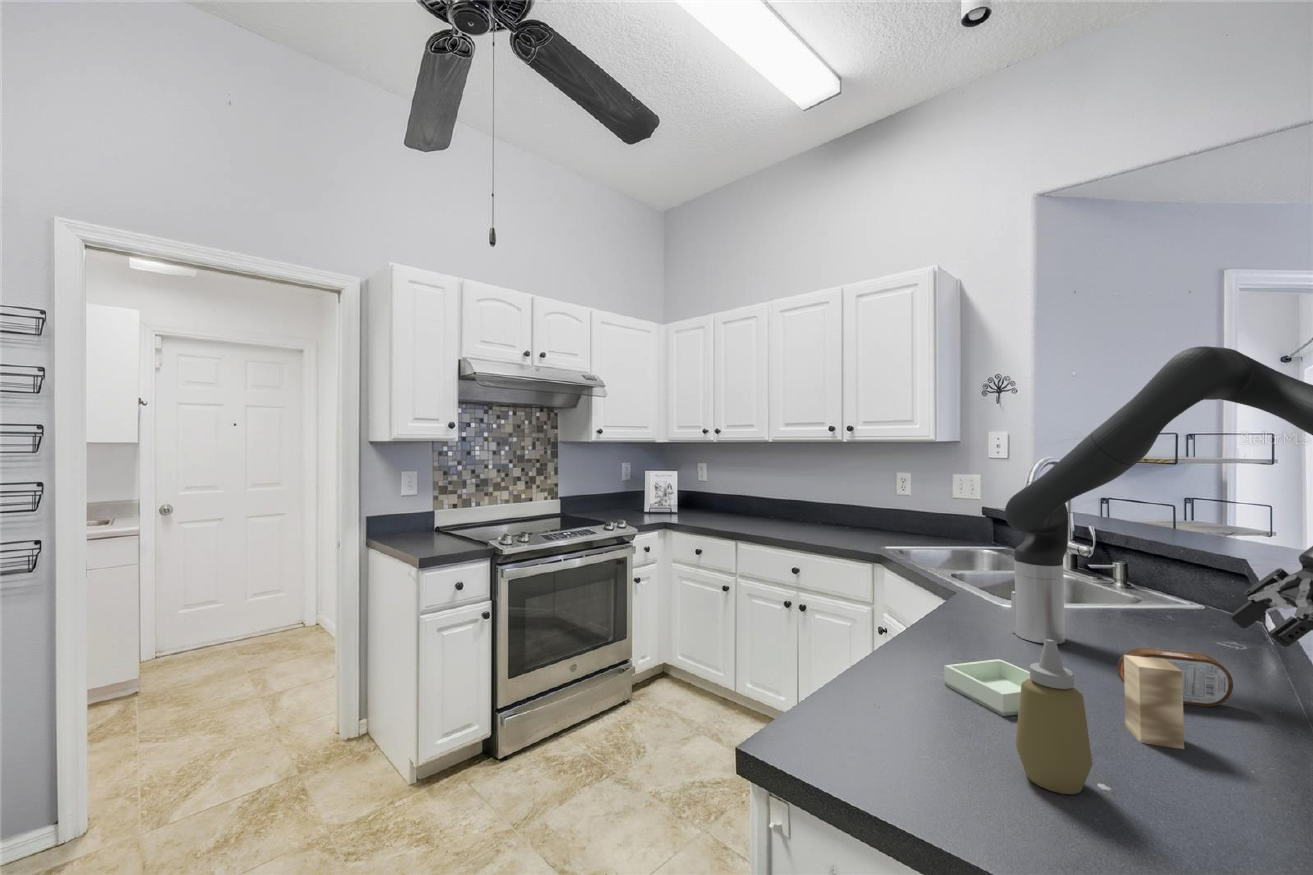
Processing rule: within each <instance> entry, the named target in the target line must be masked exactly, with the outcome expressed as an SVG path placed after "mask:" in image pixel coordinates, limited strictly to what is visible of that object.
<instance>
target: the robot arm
mask: <svg viewBox="0 0 1313 875" xmlns="http://www.w3.org/2000/svg"><path fill="white" fill-rule="evenodd" d="M1203 400H1207V401H1211V400H1212V401H1215V400H1216V401H1217V400H1222V401H1226V402H1232V403H1235V404H1240V405H1243V406H1247V407H1251V408H1255V409H1258V410H1261V411H1264V412H1266V413H1269V414H1271V415H1273V416H1276V417H1278V418H1279V419H1282V420H1284V421H1285V422H1288V423H1289V424H1290V425H1293V426H1295V427H1297V428H1298V429H1299V430H1302V431H1303V432H1305V433H1307V434H1309V435H1311V436H1313V384H1310V383H1308V382H1304V381H1302V380H1300V379H1297V378H1294V377H1292V376H1290V375H1287V374H1284V373H1283V372H1281V371H1278V370H1276V369H1274V368H1271V367H1269V366H1268V365H1266V364H1264V363H1261V362H1259V361H1257V360H1256V359H1254V358H1251V357H1249V356H1248V355H1247V354H1244V353H1241V352H1240V351H1238V350H1235V349H1232V348H1229V347H1217V346H1216V347H1215V346H1208V345H1207V346H1195V347H1190V348H1186V349H1185V350H1182V351H1181V352H1179V353H1177V354H1176V355H1174V356H1173V357H1172V358H1171V359H1169V360H1168V361H1167V362H1166V363H1165V364H1164V365H1163V366H1162V367H1161V368H1160V370H1158V372H1157V373H1156V374H1155V375H1154V376H1153V377H1152V378H1151V379H1150V380H1149V381H1148V382H1147V383H1146V385H1145V386H1144V387H1143V388H1142V389H1141V390H1140V391H1139V392H1138V393H1137V394H1135V395H1134V397H1133V398H1132V399H1130V400H1129V401H1128V402H1126V404H1124V405H1123V406H1122V407H1120V408H1119V409H1118V410H1117V411H1115V413H1113V414H1112V415H1111V416H1110V417H1108V419H1107V420H1105V421H1104V422H1103V423H1102V424H1100V425H1099V426H1097V428H1095V429H1094V430H1093V431H1092V432H1090V433H1089V434H1088V435H1087V436H1086V437H1084V438H1083V439H1082V440H1081V441H1080V442H1079V443H1078V444H1077V445H1076V446H1075V447H1074V448H1073V449H1072V450H1071V451H1070V452H1068V453H1067V454H1066V455H1065V456H1063V457H1062V458H1061V459H1059V461H1058V462H1056V463H1055V464H1054V465H1053V466H1052V467H1051V468H1050V469H1049V470H1048V471H1047V472H1045V473H1044V474H1043V475H1041V476H1040V477H1039V478H1037V479H1035V480H1034V481H1033V482H1032V483H1030V484H1028V485H1027V486H1026V487H1025V486H1024V488H1022V489H1021V490H1019V491H1017V493H1015V494H1014V495H1012V497H1010V499H1009V500H1008V501H1007V503H1006V505H1005V508H1004V517H1005V522H1006V523H1007V524H1008V526H1010V527H1011V528H1012V529H1014V530H1015V531H1018V532H1022V533H1026V536H1025V537H1026V538H1025V539H1024V541H1023V542H1022V543H1020V544H1019V545H1018V546H1016V547H1015V549H1014V554H1013V556H1014V557H1013V558H1014V559H1013V562H1014V563H1013V564H1014V590H1012V591H1011V592H1010V603H1011V610H1010V611H1011V633H1013V634H1015V635H1016V636H1017V637H1019V638H1020V639H1022V640H1027V641H1029V642H1034V643H1038V644H1044V642H1045V640H1046V639H1050V640H1054V641H1056V643H1057V645H1062V644H1063V643H1065V642H1066V641H1065V638H1066V636H1065V635H1066V634H1065V584H1064V582H1065V581H1064V579H1065V578H1064V557H1065V555H1066V554H1067V550H1068V543H1069V511H1068V507H1067V505H1066V503H1068V502H1069V501H1071V500H1072V499H1075V498H1076V497H1078V496H1081V495H1083V494H1086V493H1089V492H1090V491H1093V490H1095V489H1097V488H1099V487H1101V486H1104V485H1106V484H1108V483H1109V482H1112V481H1113V480H1115V479H1117V478H1118V477H1120V476H1122V475H1123V474H1124V473H1126V472H1127V471H1128V470H1130V469H1131V468H1133V467H1134V466H1135V465H1136V464H1138V463H1139V462H1140V461H1142V459H1143V458H1145V456H1146V455H1148V453H1149V452H1150V450H1151V449H1152V447H1153V445H1154V444H1155V443H1156V440H1157V439H1158V437H1159V435H1160V434H1161V432H1162V431H1163V430H1164V429H1165V427H1167V425H1168V424H1169V423H1170V422H1172V421H1173V420H1174V419H1176V418H1177V417H1178V416H1180V415H1182V413H1184V412H1185V411H1187V410H1188V409H1190V408H1192V407H1194V405H1196V404H1199V402H1201V401H1203ZM1298 561H1299V563H1300V564H1301V567H1302V568H1301V570H1298V571H1296V572H1294V573H1292V574H1290V573H1288V572H1287V571H1286V570H1284V569H1283V568H1282V567H1281V568H1277V569H1274V570H1273V571H1272V572H1271V573H1269V574H1268V575H1267V576H1265V577H1264V578H1261V579H1260V580H1258V582H1256V583H1255V584H1253V585H1252V586H1250V587H1249V588H1248V589H1246V590H1245V591H1244V592H1243V594H1244V595H1245V596H1247V600H1248V601H1247V602H1246V603H1244V604H1243V605H1241V606H1240V607H1239V608H1238V609H1236V610H1235V611H1234V612H1231V614H1229V615H1228V617H1229V618H1228V619H1230V620H1231V622H1233V623H1234V624H1236V626H1238V627H1239V628H1242V629H1247V628H1248V627H1250V626H1252V625H1253V624H1255V623H1256V622H1257V621H1259V620H1260V619H1261V618H1263V617H1264V616H1265V615H1267V613H1271V612H1273V611H1276V610H1278V609H1279V610H1280V609H1283V610H1290V609H1294V608H1296V610H1295V613H1294V614H1293V616H1289V617H1288V618H1287V619H1285V620H1284V621H1282V622H1281V623H1279V624H1278V625H1277V626H1275V627H1273V629H1271V630H1269V631H1268V633H1267V634H1268V637H1269V638H1271V639H1272V640H1273V641H1274V642H1275V643H1277V644H1278V645H1280V646H1282V647H1285V648H1286V647H1288V648H1289V647H1290V646H1291V645H1293V644H1294V643H1295V642H1297V641H1298V640H1300V639H1301V638H1303V637H1304V636H1306V635H1307V634H1308V633H1310V632H1311V631H1313V545H1311V546H1310V547H1309V548H1307V549H1306V550H1305V551H1303V553H1301V554H1299V556H1298Z"/></svg>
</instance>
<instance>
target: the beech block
mask: <svg viewBox="0 0 1313 875" xmlns="http://www.w3.org/2000/svg"><path fill="white" fill-rule="evenodd" d="M1123 655H1124V654H1123ZM1123 684H1124V719H1125V720H1124V721H1125V724H1124V726H1125V728H1126V729H1127V730H1128V731H1129V732H1130V733H1131V734H1132V735H1133V737H1134V738H1136V740H1138V742H1139V743H1141V744H1149V745H1155V746H1161V747H1168V748H1173V749H1181V750H1185V730H1184V729H1185V728H1184V727H1185V726H1184V724H1185V723H1184V720H1185V719H1184V704H1183V678H1182V671H1181V670H1179V669H1178V668H1177V667H1175V666H1174V665H1172V664H1171V663H1169V662H1168V661H1166V660H1165V659H1158V658H1148V657H1139V656H1129V655H1124V683H1123Z"/></svg>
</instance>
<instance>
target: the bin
mask: <svg viewBox="0 0 1313 875" xmlns="http://www.w3.org/2000/svg"><path fill="white" fill-rule="evenodd" d="M943 666H944V673H943V674H944V686H946V687H948V688H950V689H952V690H953V691H955V692H957V693H960V694H961V695H963V696H965V697H966V698H968V699H970V700H972V701H973V702H976V703H978V704H979V705H981V706H983V707H984V708H987V709H989V710H990V711H992V712H995V713H996V714H997V715H1000V716H1002V717H1008V716H1009V717H1010V716H1015V715H1018V713H1019V704H1020V694H1021V684H1022V682H1024V681H1025V680H1027V679H1030V670H1029V671H1028V670H1026V669H1024V668H1021V667H1019V666H1016V665H1014V664H1012V663H1010V662H1007V661H1005V660H1002V659H1000V658H999V659H989V660H982V661H981V660H980V661H972V662H965V663H964V662H963V663H956V664H955V663H954V664H947V665H946V664H945V665H943Z"/></svg>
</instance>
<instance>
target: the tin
mask: <svg viewBox="0 0 1313 875" xmlns="http://www.w3.org/2000/svg"><path fill="white" fill-rule="evenodd" d="M1124 655H1129V656H1139V657H1148V658H1158V659H1165V660H1166V661H1168V662H1169V663H1171V664H1172V665H1174V666H1175V667H1177V668H1178V669H1179V670H1181V671H1182V678H1183V705H1190V706H1199V707H1217V706H1219V705H1221V704H1223V703H1226V701H1227V700H1228V699H1230V697H1231V696H1232V694H1233V690H1234V681H1233V677H1232V675H1231V674H1230V672H1229V671H1228V670H1227V669H1226V668H1225V666H1223V664H1220V663H1219V662H1218V661H1217V660H1215V659H1214V658H1212V657H1211V656H1209V655H1207V654H1204V653H1199V652H1191V651H1182V650H1173V649H1163V648H1156V647H1155V648H1154V647H1142V646H1141V647H1136V648H1133V649H1130V650H1127V651H1126V652H1124V654H1122V656H1120V658H1119V660H1118V663H1117V674H1118V676H1119V679H1120V680H1121V682H1122V683H1123V684H1124Z"/></svg>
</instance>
